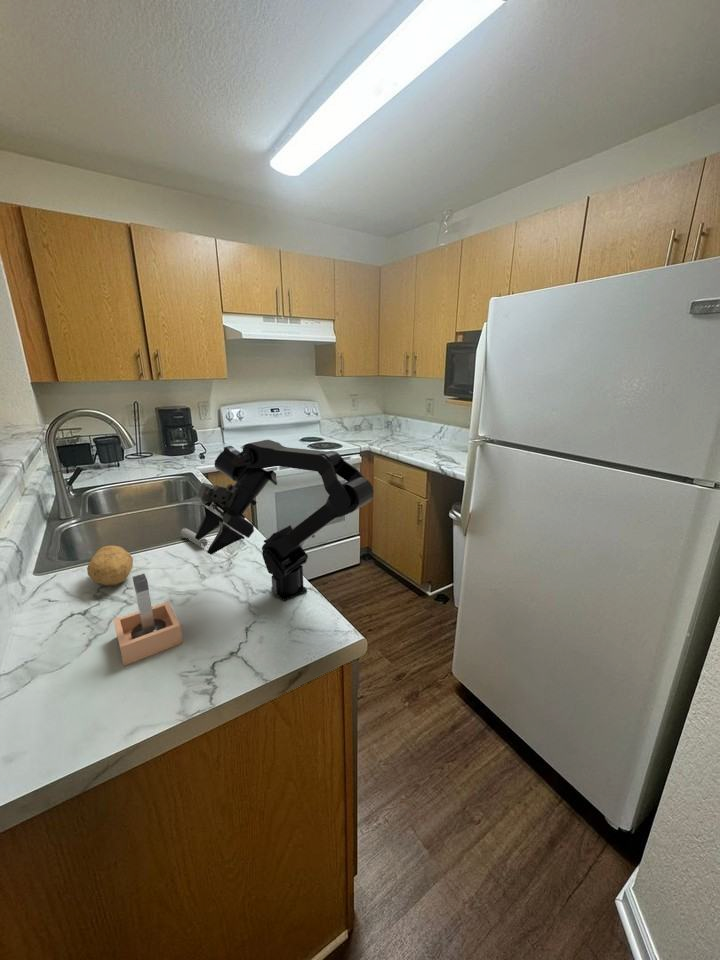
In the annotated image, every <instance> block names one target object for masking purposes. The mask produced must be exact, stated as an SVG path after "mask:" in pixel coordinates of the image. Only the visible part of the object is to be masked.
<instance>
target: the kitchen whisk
mask: <svg viewBox="0 0 720 960" xmlns="http://www.w3.org/2000/svg"><path fill="white" fill-rule="evenodd" d="M196 533H197V532H194V531H193V530H190V529H189V528H186V527H184V528H181V530H180V536H182V537H183V538H185V539H187V538H188V539H189V540H188V539H187V540H188V541H190V542H191V541H192V542H191V543H193V544H195V545H196V546H198V547H200V548H202V551H203V553H204V556H205V557H206V558H207V559H209V558H208V557H209V556H208V555H207V554H206V553H207V551H208V549H209V547H208V546H207V545H209V546H210V545H211V544H212V541H210V540H208V539H206V538H205V537H203V538H201V539H200V540H197V539H196V538H195V536H196ZM210 543H211V544H210ZM227 547H228V549H229V550H231V548H230V547H232V548H233V549H234V550H236V548H235V547H234V546H233V545H231V544H230V545H228V546H227ZM204 550H205V551H204ZM221 550H222V551H223V552H225V554H226V556H227V560H225V561H222V562H218V563H217V562H213V560H212V559H211V560H210V559H209V561H210V563H211V562H212V563H213V564H218V565H219V564H223V563H225V562H227V563H226V564H225V565H221V567H226V566H227V565H228V564H229V563H230V564H229V565H232V564H233V561H232V559H236V558H237V556H236V555H235V553H236V552H234V553H231V552H230V551H227V550H225V549H224V548H222V549H221ZM205 552H206V553H205ZM227 553H229V555H228V554H227ZM212 555H213V556H214V557H218V558H220V557H221V559H225V557H223V556H220V555H218V556H217V555H216V554H215V553H213V554H212ZM231 556H233V557H231Z"/></svg>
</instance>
